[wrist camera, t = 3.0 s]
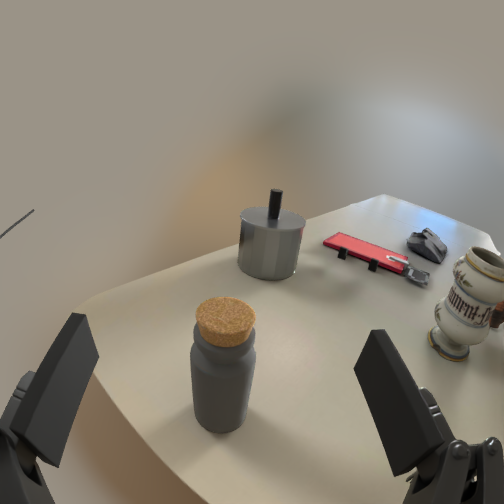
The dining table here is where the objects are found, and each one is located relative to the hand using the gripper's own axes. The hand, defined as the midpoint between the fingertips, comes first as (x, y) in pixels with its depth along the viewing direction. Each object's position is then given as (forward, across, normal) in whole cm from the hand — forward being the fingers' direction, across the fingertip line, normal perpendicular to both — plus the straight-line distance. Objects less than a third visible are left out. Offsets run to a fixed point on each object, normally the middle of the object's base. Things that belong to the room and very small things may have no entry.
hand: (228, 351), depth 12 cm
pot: (+45, +9, -20) cm, 50 cm away
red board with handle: (+51, +39, -20) cm, 67 cm away
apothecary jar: (+18, +40, -20) cm, 49 cm away
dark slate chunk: (+63, +66, -20) cm, 93 cm away
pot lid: (+45, +9, -9) cm, 47 cm away
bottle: (+9, 0, -20) cm, 22 cm away
